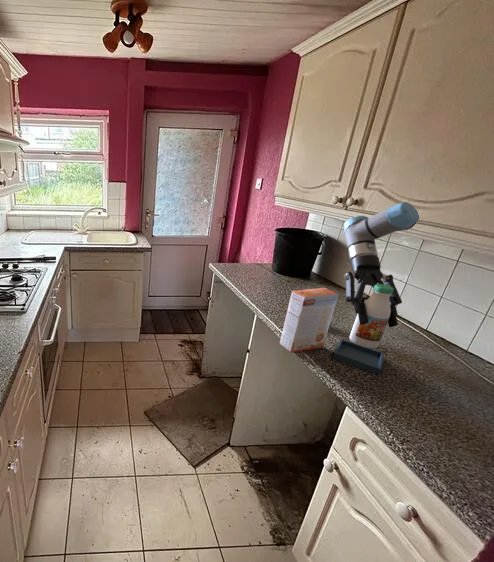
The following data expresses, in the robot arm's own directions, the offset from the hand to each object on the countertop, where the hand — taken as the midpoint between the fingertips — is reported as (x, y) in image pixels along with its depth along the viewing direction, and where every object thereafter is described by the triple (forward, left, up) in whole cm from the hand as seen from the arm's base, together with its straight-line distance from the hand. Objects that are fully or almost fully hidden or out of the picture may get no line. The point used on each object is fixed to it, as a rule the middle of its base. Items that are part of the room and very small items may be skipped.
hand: (378, 324), depth 95 cm
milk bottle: (+2, -3, -9) cm, 9 cm away
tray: (+2, -3, -15) cm, 15 cm away
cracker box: (+18, +3, -15) cm, 23 cm away
